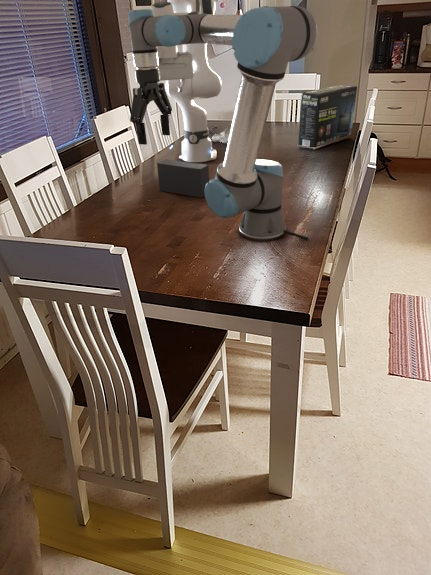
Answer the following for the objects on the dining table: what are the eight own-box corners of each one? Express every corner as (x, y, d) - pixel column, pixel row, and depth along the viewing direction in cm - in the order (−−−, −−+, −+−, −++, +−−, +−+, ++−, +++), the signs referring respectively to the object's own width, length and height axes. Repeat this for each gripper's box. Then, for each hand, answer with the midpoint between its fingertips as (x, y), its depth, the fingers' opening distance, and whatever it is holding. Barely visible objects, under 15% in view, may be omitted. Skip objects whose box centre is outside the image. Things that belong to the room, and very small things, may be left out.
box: (209, 192, 184) (208, 164, 178) (201, 197, 180) (200, 169, 174) (168, 186, 193) (165, 159, 187) (159, 190, 189) (157, 163, 183)
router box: (314, 151, 231) (318, 94, 217) (296, 148, 237) (299, 92, 224) (352, 138, 251) (358, 85, 238) (335, 135, 258) (340, 83, 245)
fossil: (235, 139, 243) (216, 121, 246) (225, 155, 249) (206, 138, 252) (251, 137, 256) (233, 120, 260) (241, 153, 263) (223, 137, 266)
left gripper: (190, 51, 176) (192, 90, 183) (137, 53, 171) (141, 93, 178) (194, 51, 171) (196, 91, 178) (140, 54, 166) (144, 95, 173)
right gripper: (159, 64, 151) (166, 131, 162) (111, 73, 132) (122, 147, 143) (178, 64, 148) (184, 132, 159) (132, 72, 129) (142, 149, 140)
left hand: (168, 92), depth 178 cm, fingers open, 8 cm apart
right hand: (155, 139), depth 151 cm, fingers open, 13 cm apart
